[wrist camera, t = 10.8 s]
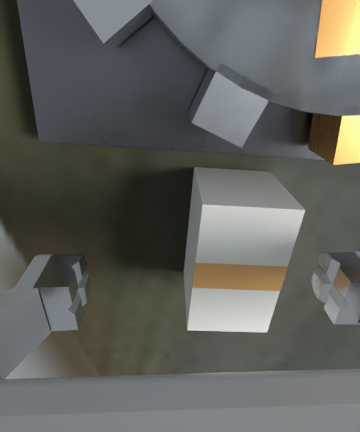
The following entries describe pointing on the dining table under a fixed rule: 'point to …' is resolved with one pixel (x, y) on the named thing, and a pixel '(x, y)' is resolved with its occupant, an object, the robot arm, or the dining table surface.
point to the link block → (237, 248)
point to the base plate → (132, 90)
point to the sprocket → (259, 61)
